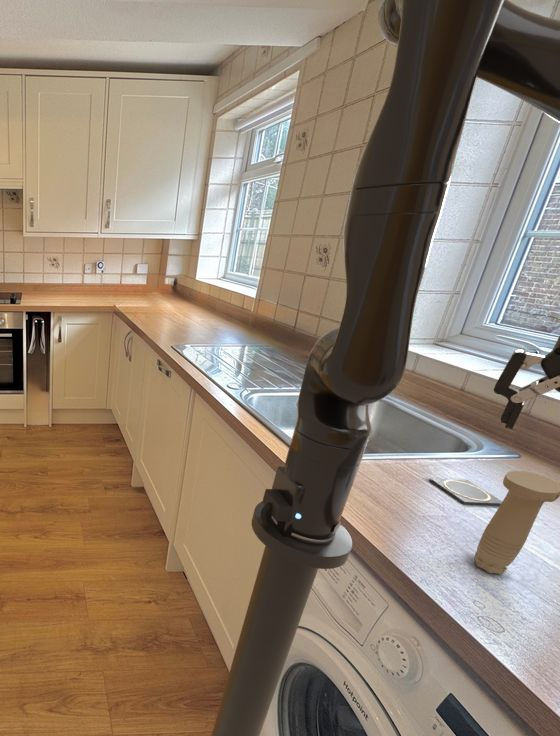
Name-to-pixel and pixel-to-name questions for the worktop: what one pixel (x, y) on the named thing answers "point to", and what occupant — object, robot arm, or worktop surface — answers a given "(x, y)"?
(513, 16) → the robot arm
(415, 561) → the worktop surface
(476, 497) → the slate board
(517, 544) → the handle
